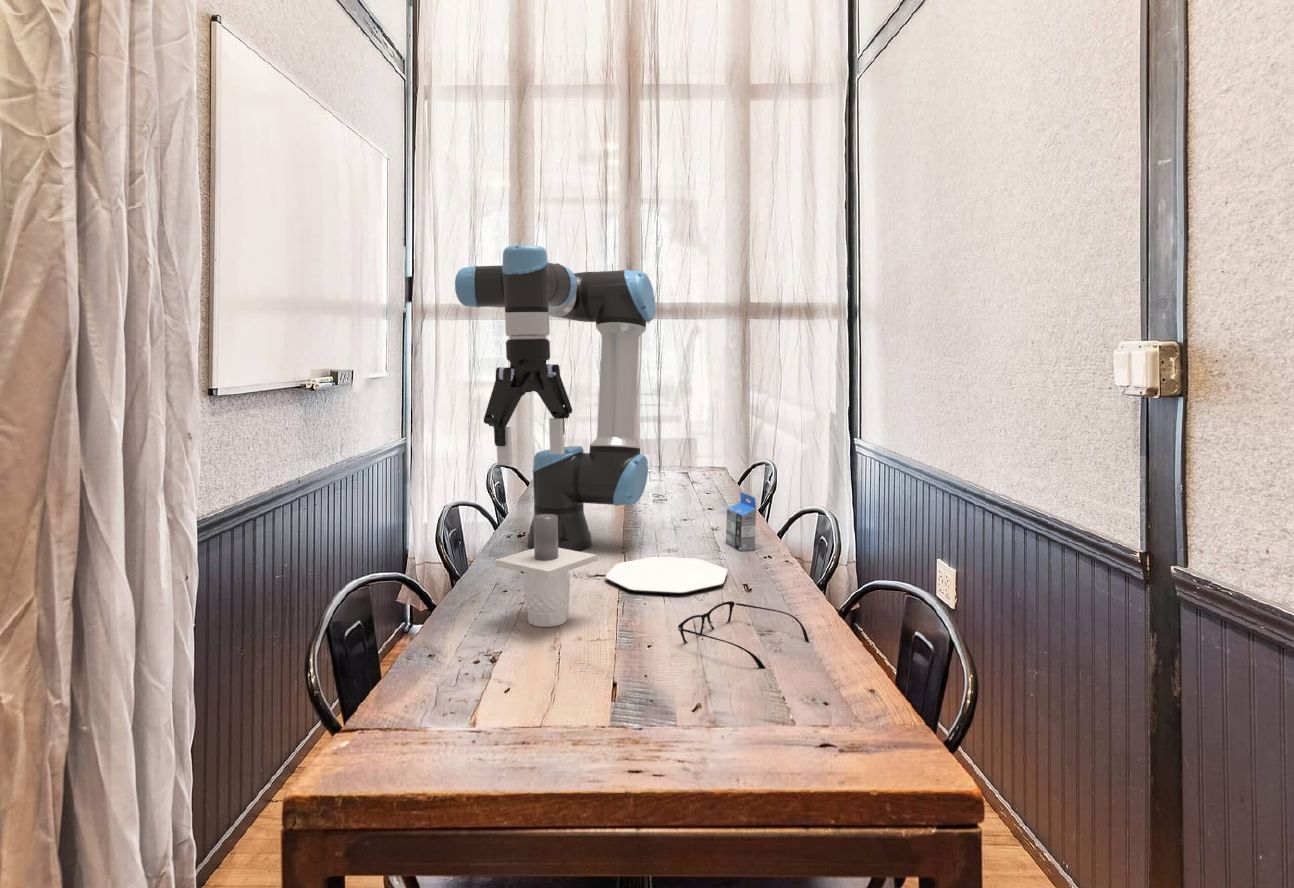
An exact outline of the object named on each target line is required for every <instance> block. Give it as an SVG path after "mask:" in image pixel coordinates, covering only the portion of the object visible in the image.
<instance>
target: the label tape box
mask: <svg viewBox="0 0 1294 888" xmlns="http://www.w3.org/2000/svg"><path fill="white" fill-rule="evenodd" d="M739 494H740V501H739V502H737V503H736V504H734V505H731V506H729V507H728V508H727V509H726V529H725V530H726V531H725V543H727V544H728V545H730V546H732V547H733V548H735V549H737V550H738V551H741V552H748V551H749V552H750V551H755V550H756V546H755V545H756V520H757V519H756V518H757V517H756V516H757V504H756V497H754V496H752V495H750V494H747V493H744V492H742V491H740V492H739ZM747 500H749V501H750V502H749V501H747Z"/></svg>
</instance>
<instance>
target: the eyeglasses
mask: <svg viewBox="0 0 1294 888" xmlns="http://www.w3.org/2000/svg"><path fill="white" fill-rule="evenodd" d="M726 605H729V613H728V620H727V622H726V623H725V624H730V622H731V619H732V614H733V609H734V607H735V606H740V607H746V608H753V609H759V610H767V611H772V612H777V613H782V614H786V615H787V616H789V617H790V618H793V619H794V620H795V621H796V622H797V623H798V624H799V626H800V628H801V631H802V634H803V637H804V641H805V642H806V643H810V640H809V636H808V633H807V631H806V628H805V627H804V626H803V624H802V622H801V621H800V620H799V619H798V618H797V617H796V616H794V615H792V614H791V613H788V612H785V611H782V610H777V609H772V608H768V607H767V608H766V607H760V606H756V605H750V604H744V603H739V602H735V601H732V600H731V601H725V602H721V603H718V604H717V605H714V607H712V608H711V609H710V610H709V611H708V612H706V613H703V614H698V615H697V614H695V615H692V616H689V617H687V618H686V619H685V620H683V621H682V622H680V624H678V626H677V631H678V632H680V636H681V639H682V641H683V643H684V644H688V643H689V641H687V640H686V638H685V634H684V632H685V633H689V634H693V635H696V636H699V637H705V638H707V639H712V640H716V641H720V642H723V643H727V644H730V645H732V646H735V647H737V648H739V649H741V650H743V651H744V652H746V653H747V654H749V656H751V658H752V659H753V660H754V661H755V664H756V665H757V667H758V669H763V670H765V669H766V666H765V664H763V662H762V661H761V660H760V658H759V657H758V656H757V655H756V654H754V653H753V652H751V651H749V650H748V649H746V648H744V647H742V646H740V645H737V644H736V643H734V642H730V641H726V640H723V639H721V638H717V637H713V636H710V635H707V634H704V633H703V631H704V629H706V628H707V623H708V624H709V626H710V628H711V629H712V630H715V628H714V626H713V622H712V621H711V617H710V616H711V614H712V612H714V611H715V610H716V609H718V608H719V607H722V606H726ZM695 618H701V626H700V627H701V628H700V631H699V632H696V631H693V630H689V629H685V628H684V625H685V624H686V623H687V622H689V621H691V620H692V619H695ZM705 619H706V620H707V623H705Z"/></svg>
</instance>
